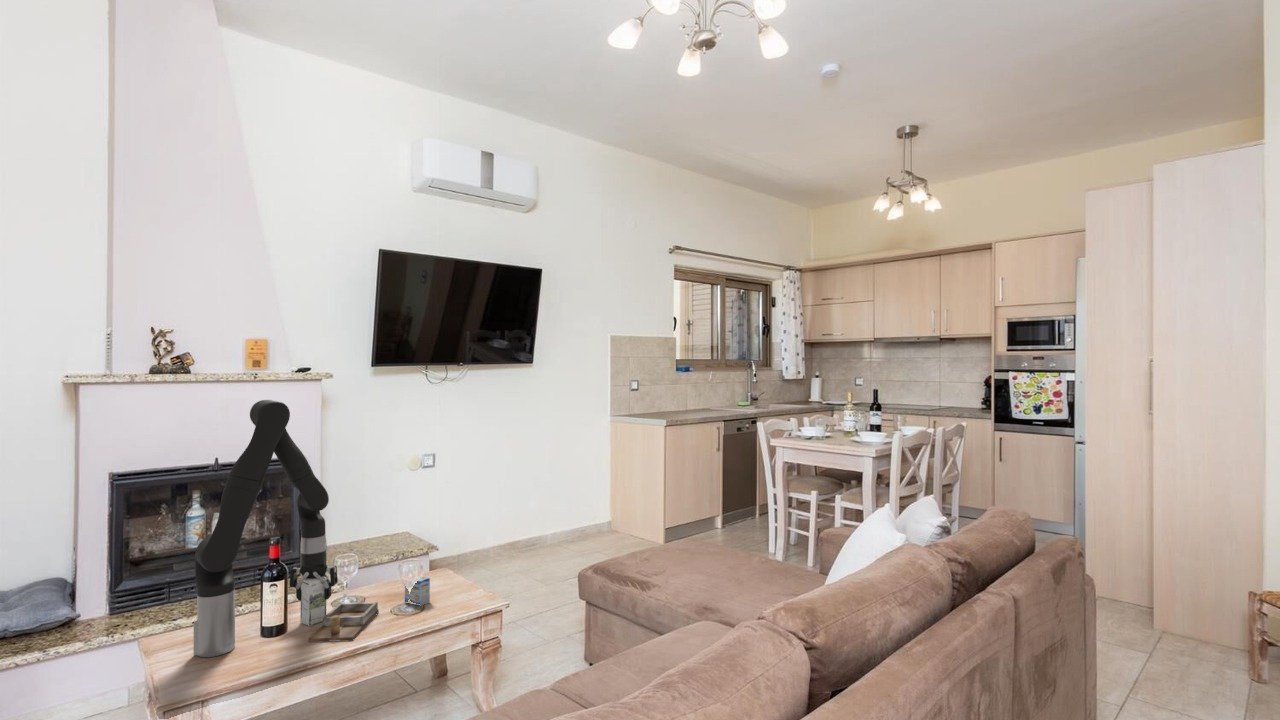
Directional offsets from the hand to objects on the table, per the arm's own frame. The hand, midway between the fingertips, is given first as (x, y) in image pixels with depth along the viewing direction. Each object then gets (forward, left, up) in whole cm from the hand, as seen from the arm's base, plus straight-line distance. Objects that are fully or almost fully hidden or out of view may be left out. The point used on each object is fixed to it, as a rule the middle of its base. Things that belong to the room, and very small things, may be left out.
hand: (314, 599), depth 205 cm
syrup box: (0, 0, -7) cm, 7 cm away
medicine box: (+29, +14, -8) cm, 33 cm away
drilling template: (+12, -5, -7) cm, 15 cm away
